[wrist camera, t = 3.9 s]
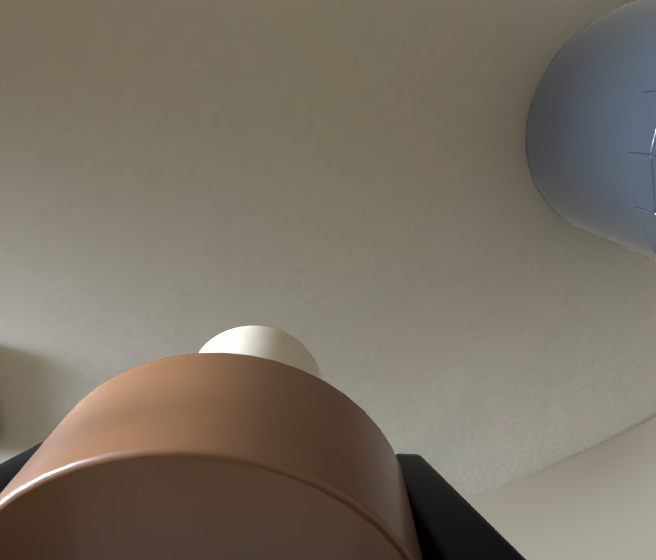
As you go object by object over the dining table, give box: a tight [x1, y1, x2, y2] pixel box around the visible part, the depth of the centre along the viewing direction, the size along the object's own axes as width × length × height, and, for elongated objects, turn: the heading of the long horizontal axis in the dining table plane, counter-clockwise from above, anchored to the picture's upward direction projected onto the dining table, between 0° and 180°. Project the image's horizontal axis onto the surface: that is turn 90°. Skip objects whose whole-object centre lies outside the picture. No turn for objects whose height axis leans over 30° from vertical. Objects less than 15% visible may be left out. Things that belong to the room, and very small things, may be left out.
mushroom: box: [0, 326, 423, 560], centre depth 8 cm, size 5×5×6 cm
